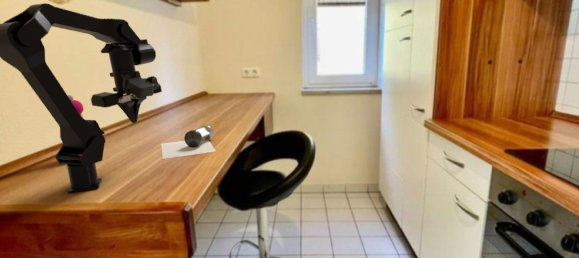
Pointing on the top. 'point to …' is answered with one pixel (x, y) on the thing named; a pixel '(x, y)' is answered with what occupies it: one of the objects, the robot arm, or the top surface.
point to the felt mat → (185, 149)
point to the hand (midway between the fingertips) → (134, 122)
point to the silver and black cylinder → (198, 136)
